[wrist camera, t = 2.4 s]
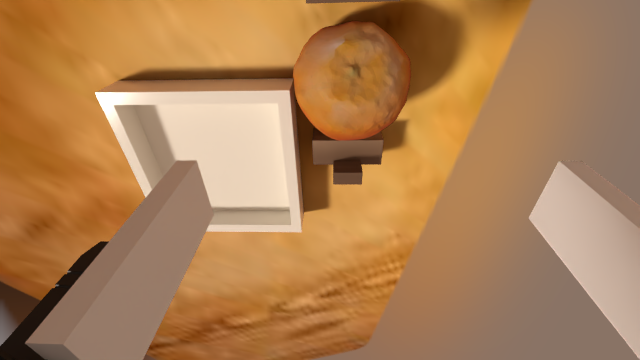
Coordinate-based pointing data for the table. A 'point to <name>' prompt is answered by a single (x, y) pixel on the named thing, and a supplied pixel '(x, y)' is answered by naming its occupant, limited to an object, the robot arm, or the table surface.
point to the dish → (216, 144)
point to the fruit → (352, 80)
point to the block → (346, 143)
